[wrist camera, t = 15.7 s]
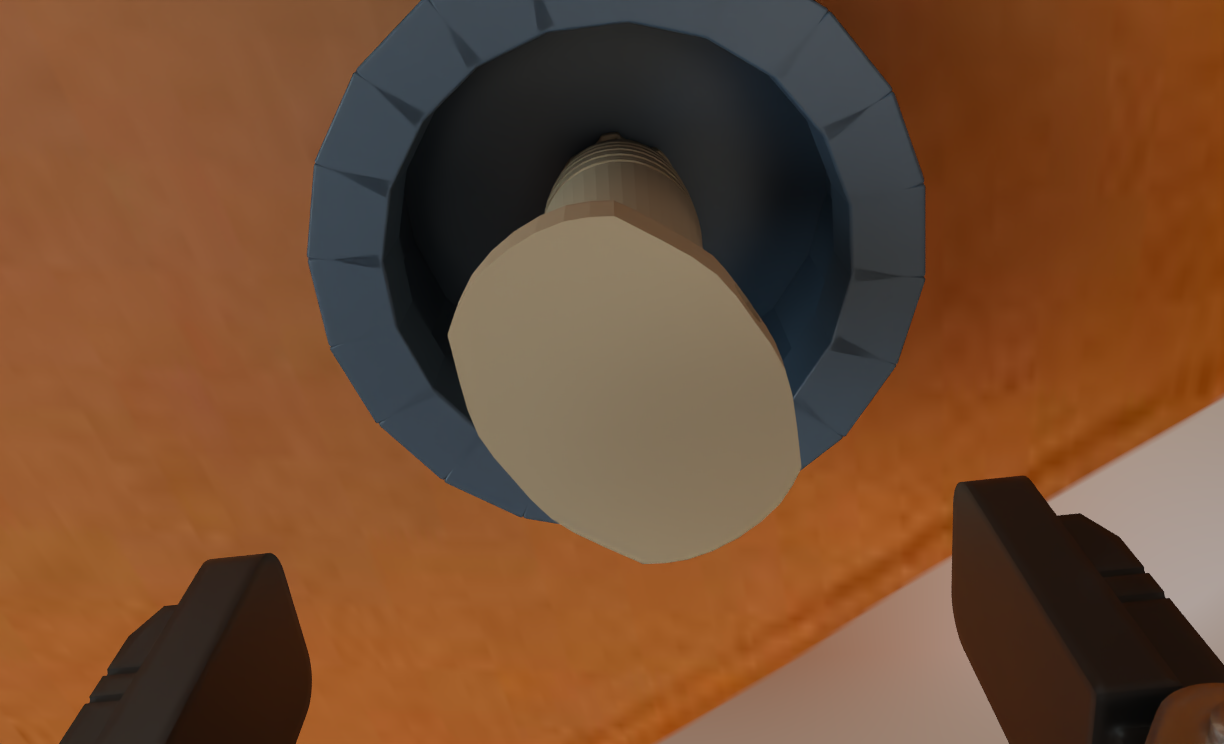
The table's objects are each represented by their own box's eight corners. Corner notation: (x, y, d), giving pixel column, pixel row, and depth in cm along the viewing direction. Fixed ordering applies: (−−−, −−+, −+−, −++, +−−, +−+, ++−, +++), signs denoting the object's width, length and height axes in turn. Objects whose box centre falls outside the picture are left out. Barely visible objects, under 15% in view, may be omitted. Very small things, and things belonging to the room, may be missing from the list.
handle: (615, 311, 32) (624, 606, 18) (486, 144, 30) (386, 336, 16) (746, 223, 31) (858, 465, 17) (620, 42, 29) (636, 156, 15)
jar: (336, -35, 29) (236, -17, 21) (837, -102, 28) (926, -109, 20) (432, 411, 34) (381, 557, 26) (851, 363, 34) (926, 498, 26)
